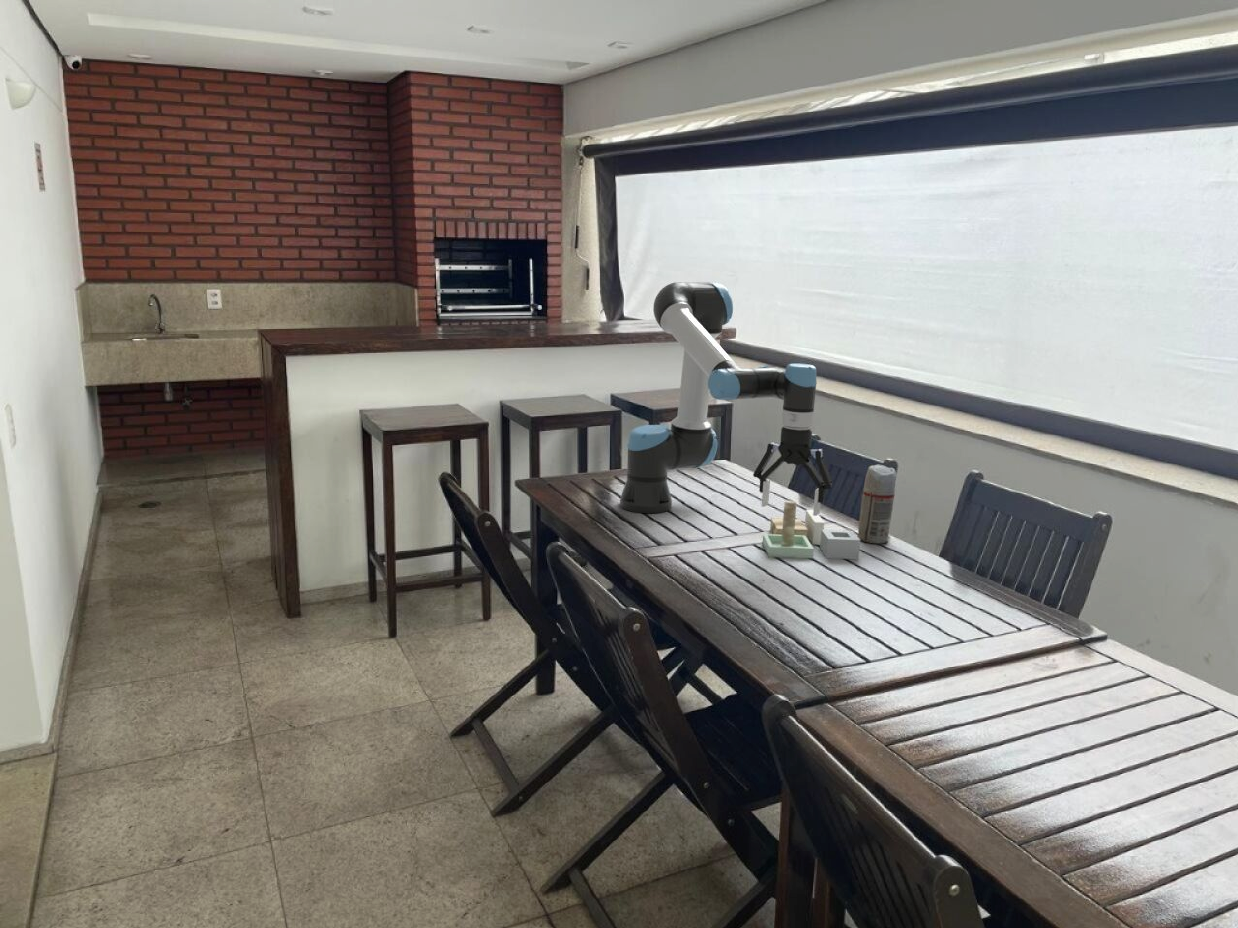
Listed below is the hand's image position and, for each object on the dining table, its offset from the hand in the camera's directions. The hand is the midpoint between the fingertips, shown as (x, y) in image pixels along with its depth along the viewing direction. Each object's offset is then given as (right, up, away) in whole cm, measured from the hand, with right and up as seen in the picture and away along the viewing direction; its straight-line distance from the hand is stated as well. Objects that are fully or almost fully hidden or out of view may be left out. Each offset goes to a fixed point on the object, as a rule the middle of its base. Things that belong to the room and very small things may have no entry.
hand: (790, 510), depth 244 cm
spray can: (+25, -9, +14) cm, 30 cm away
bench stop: (+9, -8, +14) cm, 18 cm away
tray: (0, -10, +2) cm, 11 cm away
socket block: (+13, -11, +2) cm, 17 cm away
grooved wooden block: (+2, -8, +14) cm, 16 cm away
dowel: (0, -10, +2) cm, 10 cm away
